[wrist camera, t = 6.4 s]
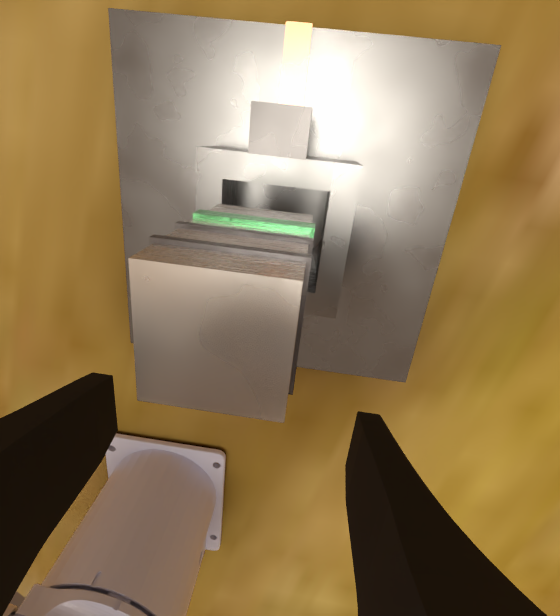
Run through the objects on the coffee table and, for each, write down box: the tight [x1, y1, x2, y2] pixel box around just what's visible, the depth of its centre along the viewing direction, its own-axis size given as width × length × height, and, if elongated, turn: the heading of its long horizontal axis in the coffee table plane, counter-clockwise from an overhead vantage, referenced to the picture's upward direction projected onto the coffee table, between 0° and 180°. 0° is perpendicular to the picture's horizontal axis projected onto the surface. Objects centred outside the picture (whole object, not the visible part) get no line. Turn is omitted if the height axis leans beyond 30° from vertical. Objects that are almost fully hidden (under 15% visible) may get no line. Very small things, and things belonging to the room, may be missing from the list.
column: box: [128, 204, 315, 423], centre depth 10 cm, size 3×3×6 cm
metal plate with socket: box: [108, 8, 501, 382], centre depth 16 cm, size 15×15×5 cm
